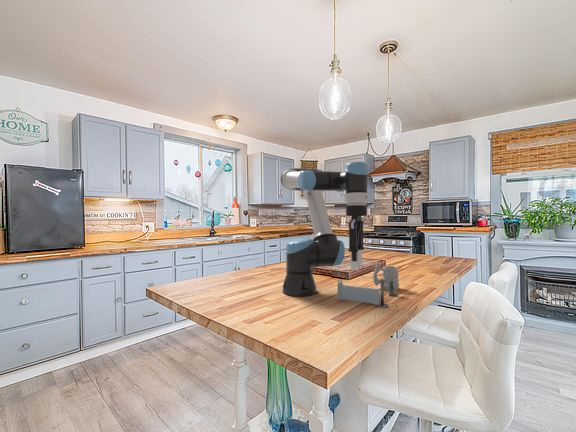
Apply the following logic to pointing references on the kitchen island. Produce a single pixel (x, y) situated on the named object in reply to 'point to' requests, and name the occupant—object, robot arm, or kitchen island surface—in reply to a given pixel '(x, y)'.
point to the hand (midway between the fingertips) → (356, 268)
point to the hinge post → (382, 295)
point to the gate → (358, 293)
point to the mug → (387, 276)
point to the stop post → (392, 289)
